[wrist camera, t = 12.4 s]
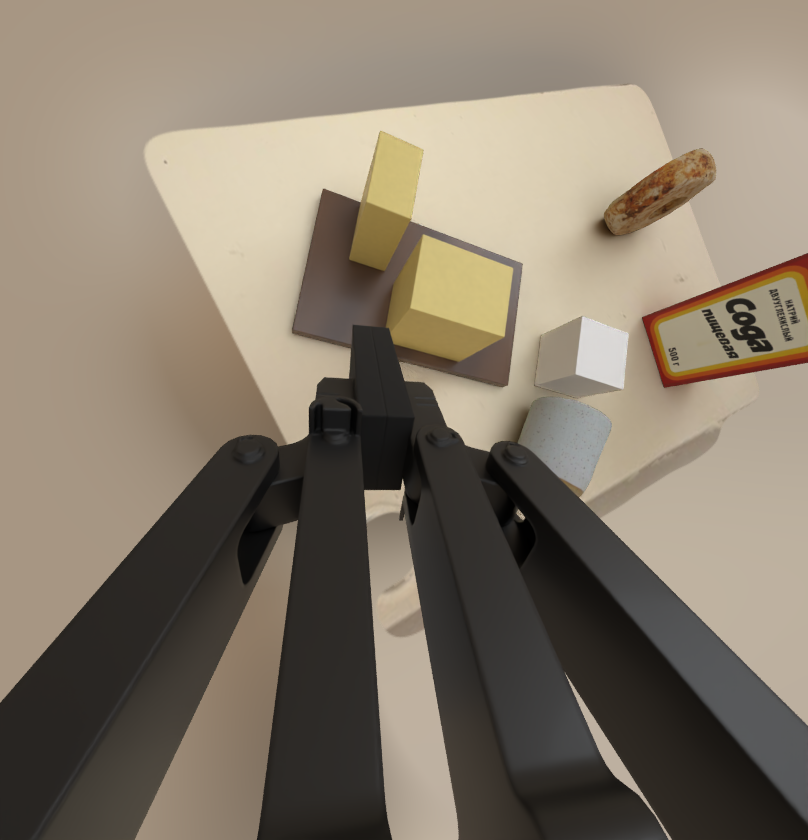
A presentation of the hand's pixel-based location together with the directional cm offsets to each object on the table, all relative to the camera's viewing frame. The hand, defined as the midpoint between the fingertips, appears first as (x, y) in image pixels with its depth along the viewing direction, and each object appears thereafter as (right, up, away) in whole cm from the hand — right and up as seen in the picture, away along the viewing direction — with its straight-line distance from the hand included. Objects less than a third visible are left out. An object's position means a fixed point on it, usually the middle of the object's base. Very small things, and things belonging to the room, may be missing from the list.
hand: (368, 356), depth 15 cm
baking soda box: (+36, +7, +31) cm, 48 cm away
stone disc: (+29, +22, +30) cm, 48 cm away
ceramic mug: (+17, -6, +24) cm, 30 cm away
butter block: (+4, +7, +19) cm, 21 cm away
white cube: (+19, +3, +25) cm, 32 cm away
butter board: (+3, +10, +20) cm, 23 cm away
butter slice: (-1, +15, +18) cm, 24 cm away
